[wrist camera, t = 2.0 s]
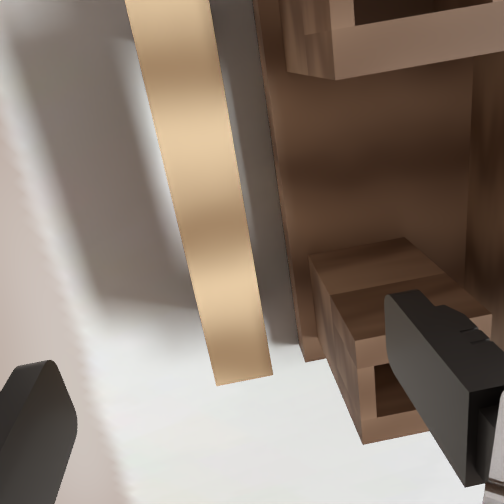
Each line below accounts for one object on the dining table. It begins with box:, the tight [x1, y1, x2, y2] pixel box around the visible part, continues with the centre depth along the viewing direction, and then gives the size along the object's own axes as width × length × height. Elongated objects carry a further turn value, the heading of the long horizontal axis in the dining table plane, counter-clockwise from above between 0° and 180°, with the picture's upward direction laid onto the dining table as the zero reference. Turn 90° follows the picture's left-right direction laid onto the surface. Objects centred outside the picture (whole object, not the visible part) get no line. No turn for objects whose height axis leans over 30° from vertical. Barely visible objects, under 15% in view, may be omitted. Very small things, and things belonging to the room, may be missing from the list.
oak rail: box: [125, 0, 273, 386], centre depth 23 cm, size 18×3×8 cm, turn 9°
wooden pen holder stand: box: [252, 0, 504, 445], centre depth 21 cm, size 26×12×14 cm, turn 9°
